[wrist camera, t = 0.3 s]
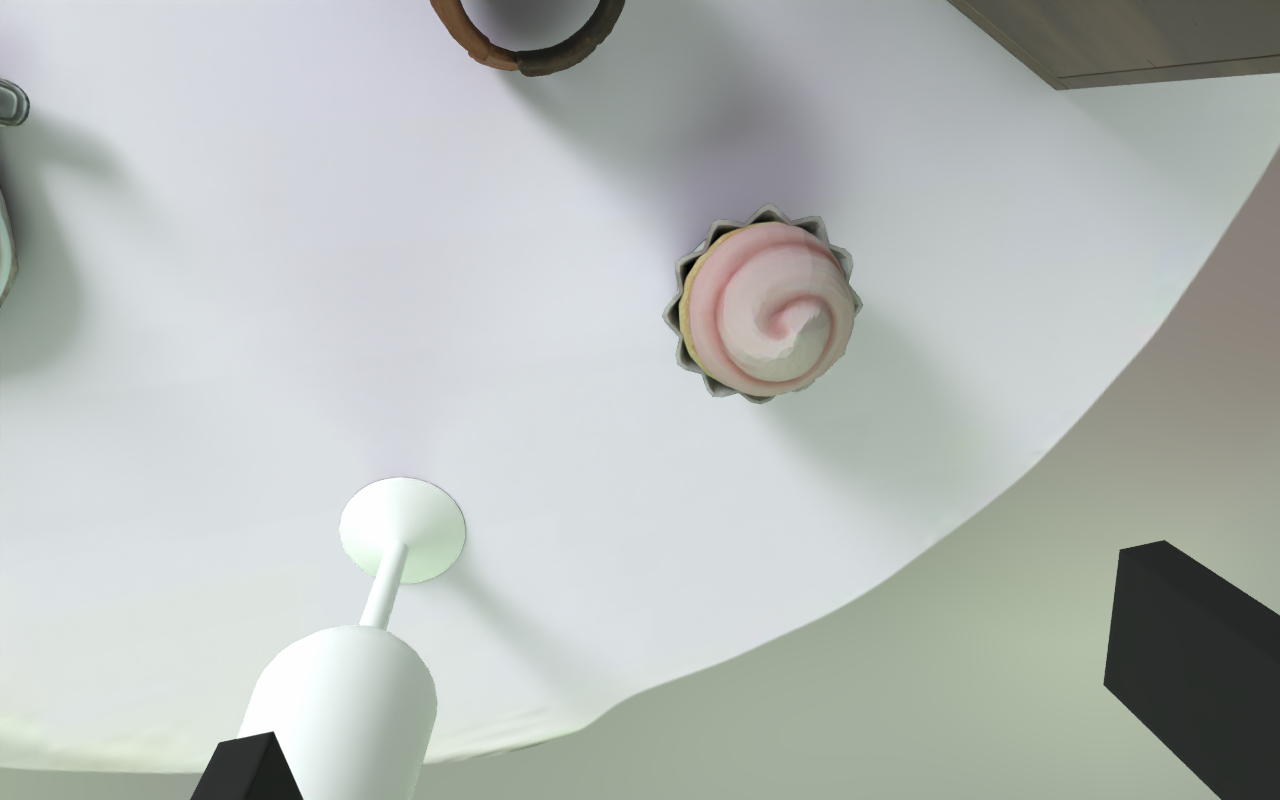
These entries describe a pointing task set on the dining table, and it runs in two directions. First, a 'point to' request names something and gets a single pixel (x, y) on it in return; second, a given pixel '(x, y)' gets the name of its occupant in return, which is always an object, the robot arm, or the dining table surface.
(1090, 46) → the cupboard
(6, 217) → the plate of green donuts
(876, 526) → the dining table surface
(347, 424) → the dining table surface
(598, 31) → the pottery mug
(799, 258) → the cupcake
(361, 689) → the champagne flute
